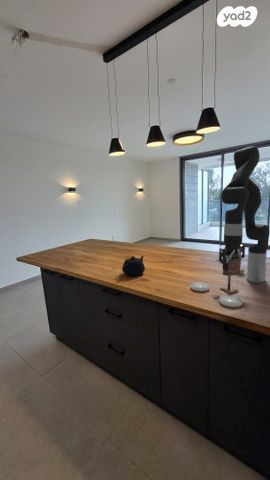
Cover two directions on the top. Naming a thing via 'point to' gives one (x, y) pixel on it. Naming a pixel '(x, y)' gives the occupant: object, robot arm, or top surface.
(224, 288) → the balance
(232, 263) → the lighter
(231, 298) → the dish low side
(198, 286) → the dish high side
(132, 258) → the teapot
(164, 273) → the top surface
